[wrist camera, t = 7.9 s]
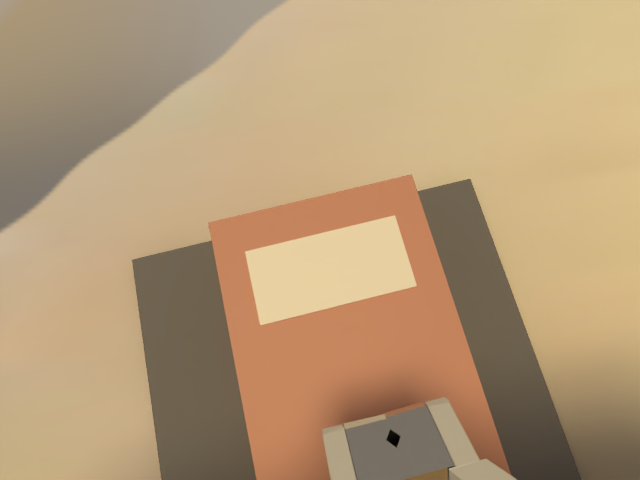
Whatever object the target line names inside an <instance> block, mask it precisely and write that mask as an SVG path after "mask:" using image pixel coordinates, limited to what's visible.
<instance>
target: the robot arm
mask: <svg viewBox="0 0 640 480" xmlns="http://www.w3.org/2000/svg"><path fill="white" fill-rule="evenodd" d="M344 428H345V430H344ZM345 433H346V434H345ZM322 435H323V441H324V447H325V452H326V457H327V463H328V468H329V473H330V479H331V480H517V479H516V478H514V477H513V476H511V475H510V474H508V473H507V472H506V471H504V470H503V469H501V468H500V467H498V466H497V465H495V464H494V463H492V462H491V461H489V460H488V459H487V458H486V459H482V460H480V459H479V457H478V455H477V453H476V451H475V449H474V448H473V446H472V444H471V442H470V440H469V438H468V436H467V434H466V432H465V430H464V429H463V427H462V425H461V423H460V421H459V419H458V417H457V415H456V413H455V412H454V410H453V408H452V406H451V404H450V402H449V400H448V399H447V398H445V397H442V398H438V399H435V400H431V401H428V402H421V403H418V404H414V405H410V406H407V407H403V408H400V409H396V410H393V411H389V412H385V413H384V414H381V415H377V416H373V417H369V418H364V419H360V420H356V421H352V422H348V423H344V426H343V424H339V425H335V426H331V427H328V428H324V429H322ZM346 437H347V438H346ZM347 441H348V442H347ZM348 445H349V446H348ZM349 449H350V450H349ZM350 453H351V454H350Z"/></svg>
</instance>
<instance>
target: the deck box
mask: <svg viewBox="0 0 640 480" xmlns="http://www.w3.org/2000/svg"><path fill="white" fill-rule="evenodd" d="M209 229H210V234H211V239H212V245H213V250H214V255H215V261H216V266H217V271H218V277H219V282H220V287H221V293H222V298H223V303H224V309H225V314H226V319H227V325H228V330H229V335H230V341H231V346H232V351H233V357H234V362H235V367H236V373H237V378H238V383H239V389H240V394H241V399H242V405H243V410H244V415H245V421H246V426H247V431H248V437H249V442H250V447H251V453H252V458H253V463H254V469H255V474H256V479H257V480H331V479H330V473H329V468H328V463H327V457H326V452H325V447H324V441H323V435H322V429H324V428H328V427H331V426H335V425H339V424H343V426H344V423H348V422H352V421H356V420H360V419H364V418H369V417H373V416H377V415H381V414H384V413H385V412H389V411H393V410H396V409H400V408H403V407H407V406H410V405H414V404H418V403H421V402H428V401H431V400H435V399H438V398H442V397H445V398H447V399H448V400H449V402H450V404H451V406H452V408H453V410H454V412H455V413H456V415H457V417H458V419H459V421H460V423H461V425H462V427H463V429H464V430H465V432H466V434H467V436H468V438H469V440H470V442H471V444H472V446H473V448H474V449H475V451H476V453H477V455H478V457H479V459H480V460H482V459H486V458H487V459H488V460H489V461H491V462H492V463H494V464H495V465H497V466H498V467H500V468H501V469H503V470H504V471H506V472H507V473H508V474H510V475H511V473H510V470H509V467H508V464H507V461H506V458H505V455H504V452H503V449H502V446H501V443H500V439H499V436H498V433H497V430H496V427H495V424H494V421H493V418H492V415H491V412H490V409H489V406H488V403H487V400H486V397H485V394H484V391H483V388H482V385H481V382H480V379H479V376H478V373H477V370H476V367H475V364H474V361H473V358H472V355H471V352H470V349H469V346H468V343H467V340H466V337H465V334H464V331H463V328H462V325H461V322H460V319H459V316H458V313H457V310H456V307H455V304H454V301H453V298H452V295H451V292H450V289H449V286H448V282H447V279H446V276H445V273H444V270H443V267H442V264H441V261H440V258H439V255H438V252H437V249H436V246H435V243H434V240H433V237H432V234H431V231H430V228H429V225H428V222H427V219H426V216H425V213H424V210H423V207H422V204H421V201H420V198H419V195H418V192H417V189H416V186H415V183H414V180H413V177H412V175H407V176H403V177H399V178H395V179H391V180H386V181H382V182H378V183H374V184H369V185H365V186H361V187H357V188H353V189H348V190H344V191H340V192H336V193H332V194H327V195H323V196H319V197H315V198H311V199H306V200H302V201H298V202H294V203H289V204H285V205H281V206H277V207H273V208H268V209H264V210H260V211H256V212H252V213H247V214H243V215H239V216H235V217H231V218H226V219H222V220H218V221H214V222H210V223H209ZM344 430H345V428H344ZM345 434H346V433H345ZM346 438H347V437H346ZM347 442H348V441H347ZM348 446H349V445H348ZM349 450H350V449H349ZM350 454H351V453H350Z"/></svg>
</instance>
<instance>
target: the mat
mask: <svg viewBox="0 0 640 480" xmlns="http://www.w3.org/2000/svg"><path fill="white" fill-rule="evenodd" d="M417 192H418V195H419V198H420V201H421V204H422V207H423V210H424V213H425V216H426V219H427V222H428V225H429V228H430V231H431V234H432V237H433V240H434V243H435V246H436V249H437V252H438V255H439V258H440V261H441V264H442V267H443V270H444V273H445V276H446V279H447V282H448V286H449V289H450V292H451V295H452V298H453V301H454V304H455V307H456V310H457V313H458V316H459V319H460V322H461V325H462V328H463V331H464V334H465V337H466V340H467V343H468V346H469V349H470V352H471V355H472V358H473V361H474V364H475V367H476V370H477V373H478V376H479V379H480V382H481V385H482V388H483V391H484V394H485V397H486V400H487V403H488V406H489V409H490V412H491V415H492V418H493V421H494V424H495V427H496V430H497V433H498V436H499V439H500V443H501V446H502V449H503V452H504V455H505V458H506V461H507V464H508V467H509V470H510V473H511V476H513V477H514V478H516V479H517V480H581V477H580V475H579V472H578V469H577V467H576V464H575V461H574V459H573V456H572V453H571V450H570V448H569V445H568V442H567V440H566V437H565V434H564V431H563V429H562V426H561V423H560V421H559V418H558V415H557V413H556V410H555V407H554V404H553V402H552V399H551V396H550V394H549V391H548V388H547V385H546V383H545V380H544V377H543V375H542V372H541V369H540V367H539V364H538V361H537V358H536V356H535V353H534V350H533V348H532V345H531V342H530V339H529V337H528V334H527V331H526V329H525V326H524V323H523V321H522V318H521V315H520V312H519V310H518V307H517V304H516V302H515V299H514V296H513V293H512V291H511V288H510V285H509V283H508V280H507V277H506V275H505V272H504V269H503V266H502V264H501V261H500V258H499V256H498V253H497V250H496V247H495V245H494V242H493V239H492V237H491V234H490V231H489V229H488V226H487V223H486V220H485V218H484V215H483V212H482V210H481V207H480V204H479V201H478V199H477V196H476V193H475V191H474V188H473V185H472V183H471V180H470V179H467V180H463V181H459V182H455V183H451V184H446V185H442V186H438V187H434V188H430V189H426V190H421V191H417ZM132 262H133V270H134V277H135V285H136V292H137V300H138V307H139V314H140V322H141V329H142V337H143V344H144V352H145V359H146V367H147V374H148V381H149V389H150V396H151V404H152V411H153V419H154V426H155V434H156V441H157V449H158V456H159V463H160V471H161V478H162V480H257V479H256V474H255V469H254V463H253V458H252V453H251V447H250V442H249V437H248V431H247V426H246V421H245V415H244V410H243V405H242V399H241V394H240V389H239V383H238V378H237V373H236V367H235V362H234V357H233V351H232V346H231V341H230V335H229V330H228V325H227V319H226V314H225V309H224V303H223V298H222V293H221V287H220V282H219V277H218V271H217V266H216V261H215V255H214V250H213V245H212V241H209V242H205V243H200V244H196V245H192V246H188V247H184V248H180V249H175V250H171V251H167V252H163V253H159V254H155V255H150V256H146V257H142V258H138V259H134V260H132Z"/></svg>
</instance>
